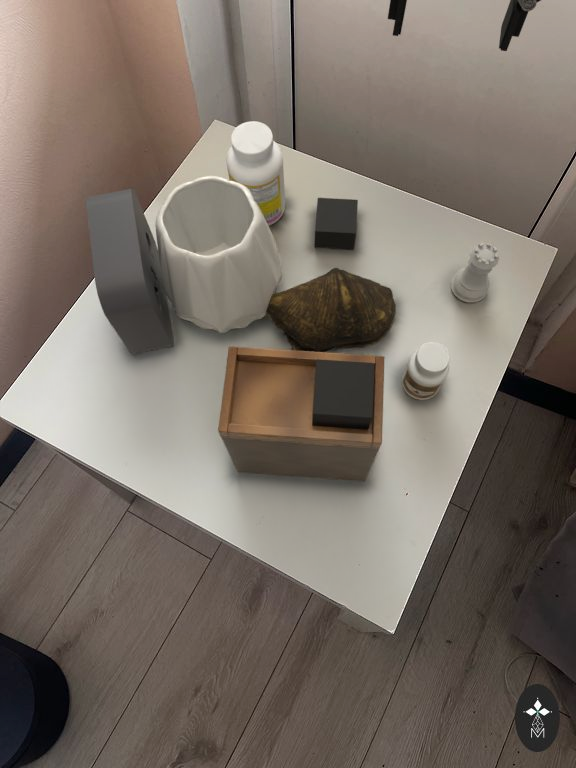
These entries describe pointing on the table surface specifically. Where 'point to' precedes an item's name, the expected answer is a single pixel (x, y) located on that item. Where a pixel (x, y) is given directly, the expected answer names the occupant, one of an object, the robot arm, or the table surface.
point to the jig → (292, 417)
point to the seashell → (333, 312)
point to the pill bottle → (426, 371)
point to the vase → (216, 254)
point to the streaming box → (128, 271)
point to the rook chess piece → (475, 274)
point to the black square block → (343, 394)
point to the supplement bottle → (258, 167)
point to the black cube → (336, 223)
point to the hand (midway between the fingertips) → (450, 32)
